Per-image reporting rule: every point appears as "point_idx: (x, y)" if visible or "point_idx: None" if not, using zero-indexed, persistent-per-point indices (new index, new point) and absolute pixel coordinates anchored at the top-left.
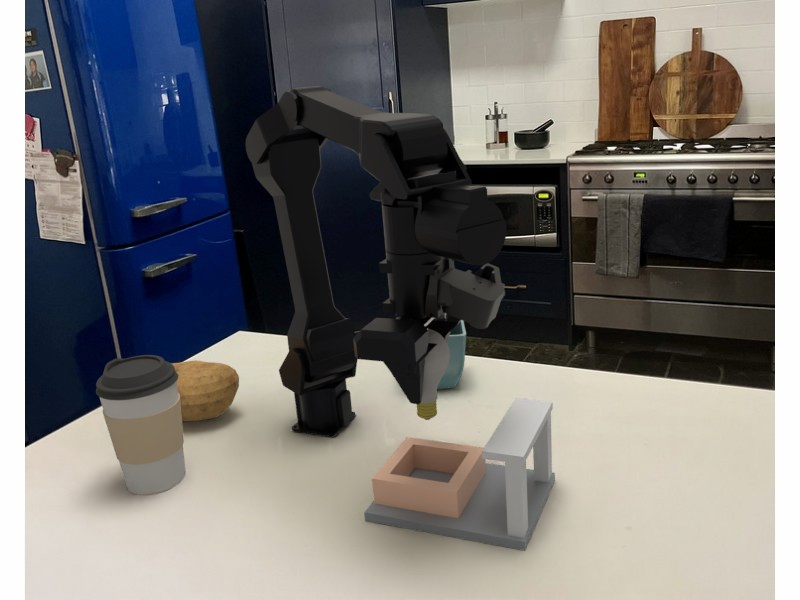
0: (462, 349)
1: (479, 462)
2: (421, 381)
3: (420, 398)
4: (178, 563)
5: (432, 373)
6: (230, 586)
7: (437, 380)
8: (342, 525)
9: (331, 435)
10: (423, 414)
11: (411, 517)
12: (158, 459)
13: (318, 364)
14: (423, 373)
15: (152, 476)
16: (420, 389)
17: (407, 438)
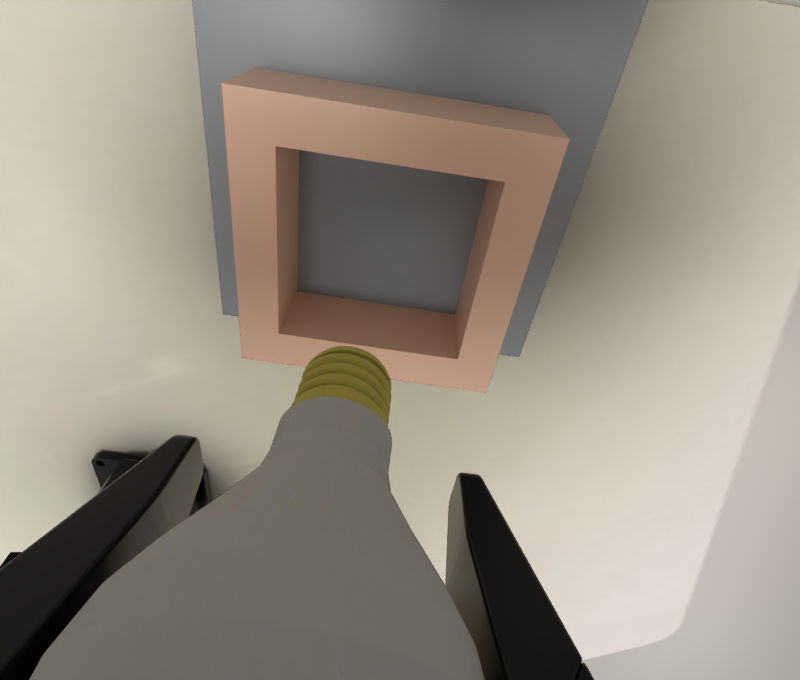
0: None
1: (305, 90)
2: (530, 616)
3: (489, 500)
4: (634, 549)
5: (447, 610)
6: (710, 484)
7: (367, 505)
8: (533, 379)
9: (205, 473)
10: (389, 399)
11: (543, 250)
12: None
13: None
14: (517, 673)
15: None
16: (520, 560)
17: (249, 354)
